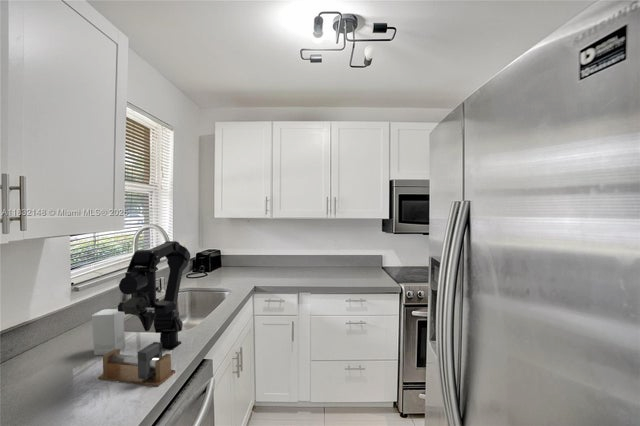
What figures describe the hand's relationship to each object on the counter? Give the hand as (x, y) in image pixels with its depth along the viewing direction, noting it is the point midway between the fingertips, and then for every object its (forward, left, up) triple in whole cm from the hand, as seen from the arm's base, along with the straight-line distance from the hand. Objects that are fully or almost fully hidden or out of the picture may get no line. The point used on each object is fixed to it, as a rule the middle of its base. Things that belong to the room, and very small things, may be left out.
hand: (147, 330), depth 105 cm
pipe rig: (+6, +1, -12) cm, 14 cm away
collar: (+6, +6, -11) cm, 14 cm away
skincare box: (-7, -23, -13) cm, 27 cm away
